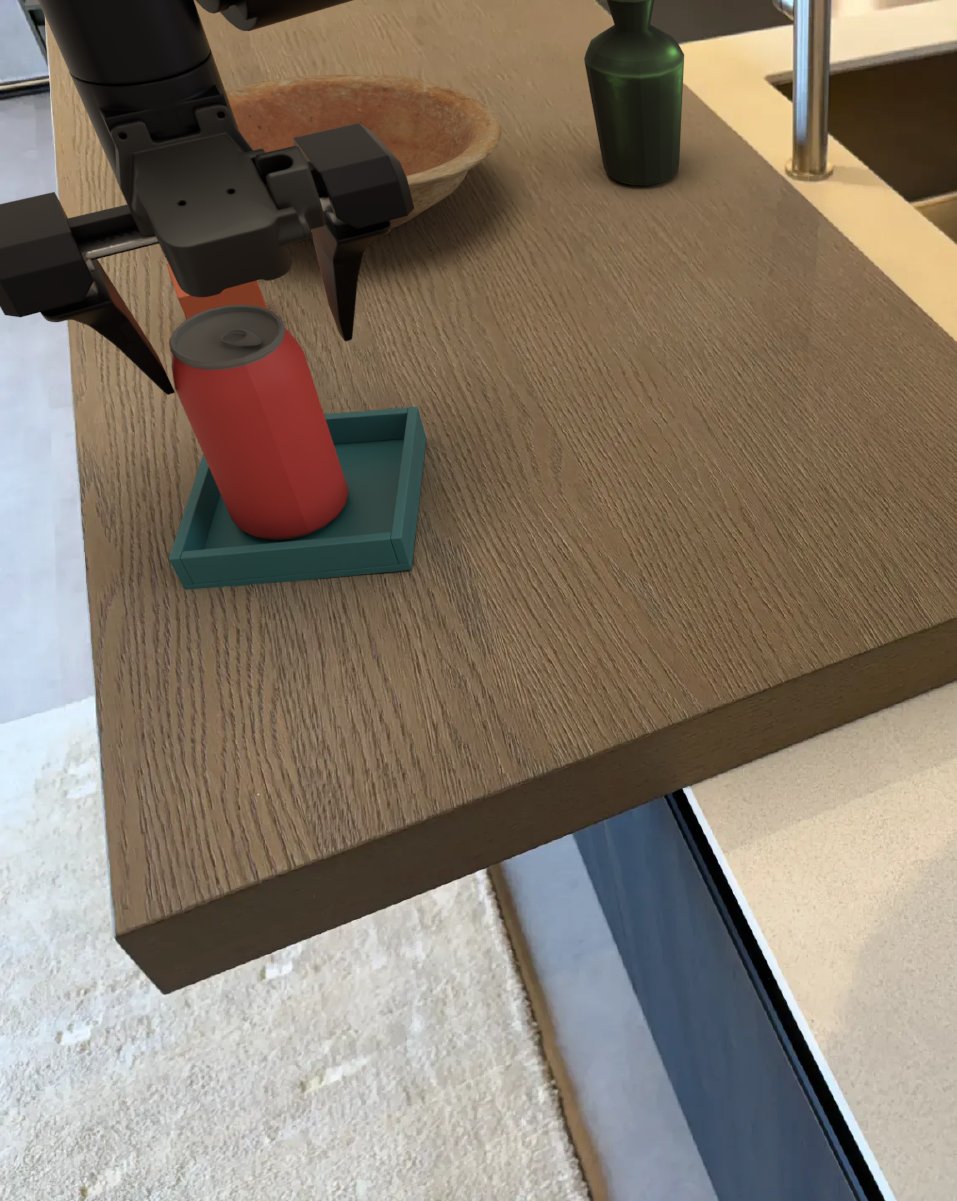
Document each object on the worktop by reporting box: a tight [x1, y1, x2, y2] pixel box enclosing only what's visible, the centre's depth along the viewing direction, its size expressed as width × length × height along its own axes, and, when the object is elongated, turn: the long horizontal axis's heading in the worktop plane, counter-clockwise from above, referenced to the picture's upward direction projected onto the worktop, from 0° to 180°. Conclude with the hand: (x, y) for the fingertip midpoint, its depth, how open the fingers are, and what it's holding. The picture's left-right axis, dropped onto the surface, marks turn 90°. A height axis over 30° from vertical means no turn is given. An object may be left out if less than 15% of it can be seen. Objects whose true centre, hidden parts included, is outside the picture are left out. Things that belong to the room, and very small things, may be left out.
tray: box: [168, 406, 427, 591], centre depth 67 cm, size 12×12×2 cm
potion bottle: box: [583, 0, 685, 186], centre depth 92 cm, size 8×8×18 cm
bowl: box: [225, 74, 502, 229], centre depth 90 cm, size 24×24×8 cm
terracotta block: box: [166, 262, 268, 320], centre depth 79 cm, size 5×5×5 cm
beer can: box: [168, 305, 349, 540], centre depth 63 cm, size 7×7×12 cm
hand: (260, 363), depth 60 cm, fingers open, 9 cm apart
